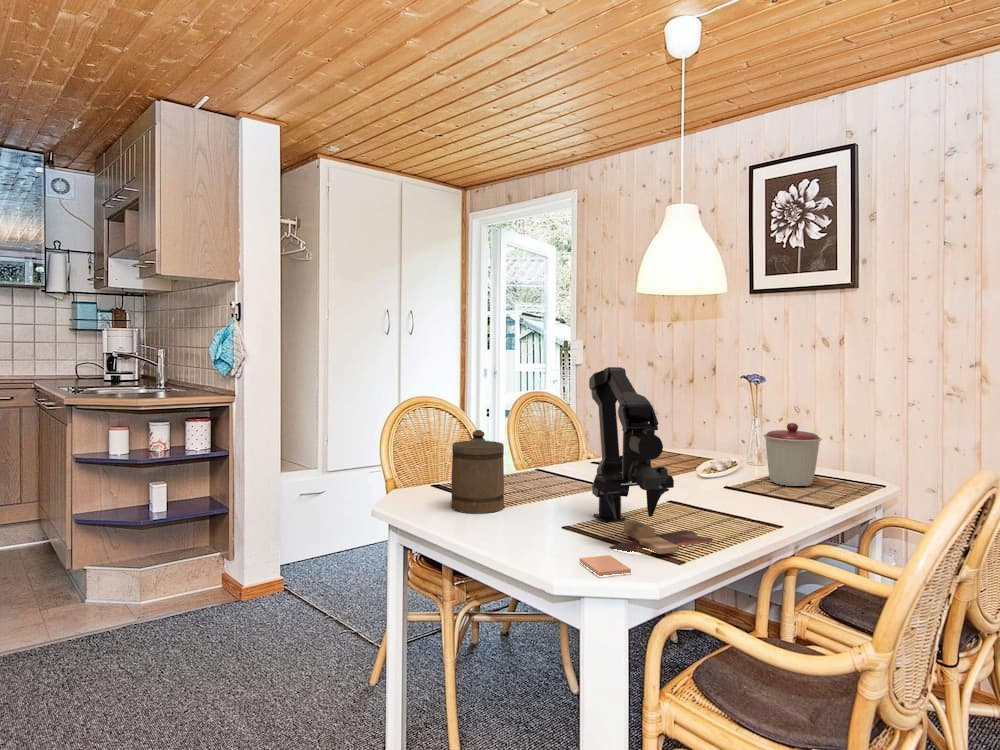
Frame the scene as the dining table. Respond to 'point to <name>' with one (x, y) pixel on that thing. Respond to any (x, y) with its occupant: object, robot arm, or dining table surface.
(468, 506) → the wooden container
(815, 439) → the canister
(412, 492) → the dining table surface
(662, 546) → the tan paddle
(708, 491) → the dining table surface
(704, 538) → the wooden tablet
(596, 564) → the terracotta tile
